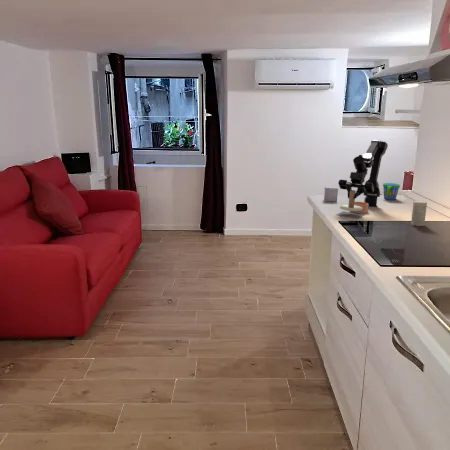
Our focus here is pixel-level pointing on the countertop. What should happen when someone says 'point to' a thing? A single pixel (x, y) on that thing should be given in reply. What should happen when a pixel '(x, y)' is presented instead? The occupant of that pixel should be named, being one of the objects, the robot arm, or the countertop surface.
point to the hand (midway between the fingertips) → (351, 198)
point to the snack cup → (390, 190)
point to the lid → (351, 203)
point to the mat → (350, 215)
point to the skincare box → (418, 213)
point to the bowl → (364, 207)
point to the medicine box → (330, 194)
